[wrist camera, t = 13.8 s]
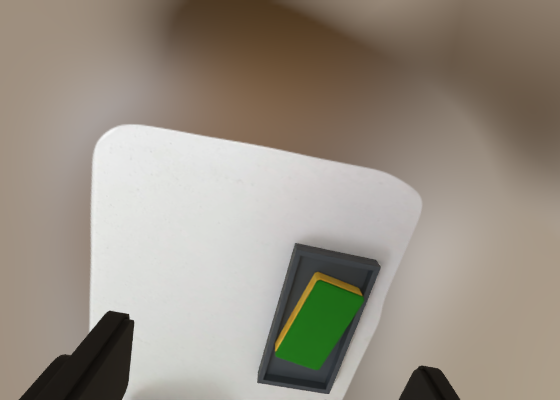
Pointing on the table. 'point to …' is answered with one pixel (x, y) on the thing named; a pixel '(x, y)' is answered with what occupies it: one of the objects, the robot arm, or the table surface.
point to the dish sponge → (318, 321)
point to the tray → (296, 281)
